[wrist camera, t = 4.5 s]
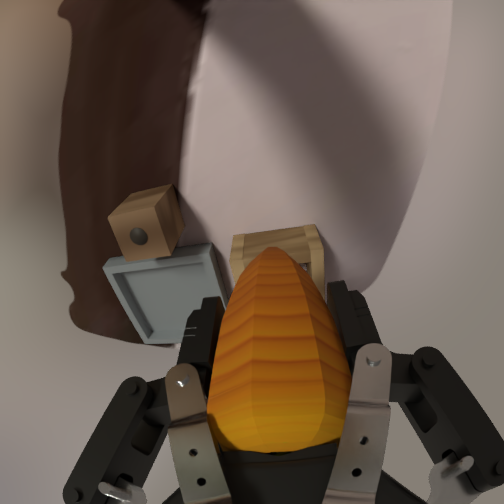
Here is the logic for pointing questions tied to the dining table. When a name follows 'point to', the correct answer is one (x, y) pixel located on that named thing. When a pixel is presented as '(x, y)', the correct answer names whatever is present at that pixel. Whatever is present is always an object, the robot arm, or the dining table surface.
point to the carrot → (278, 363)
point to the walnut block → (148, 223)
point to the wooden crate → (289, 240)
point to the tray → (166, 289)
